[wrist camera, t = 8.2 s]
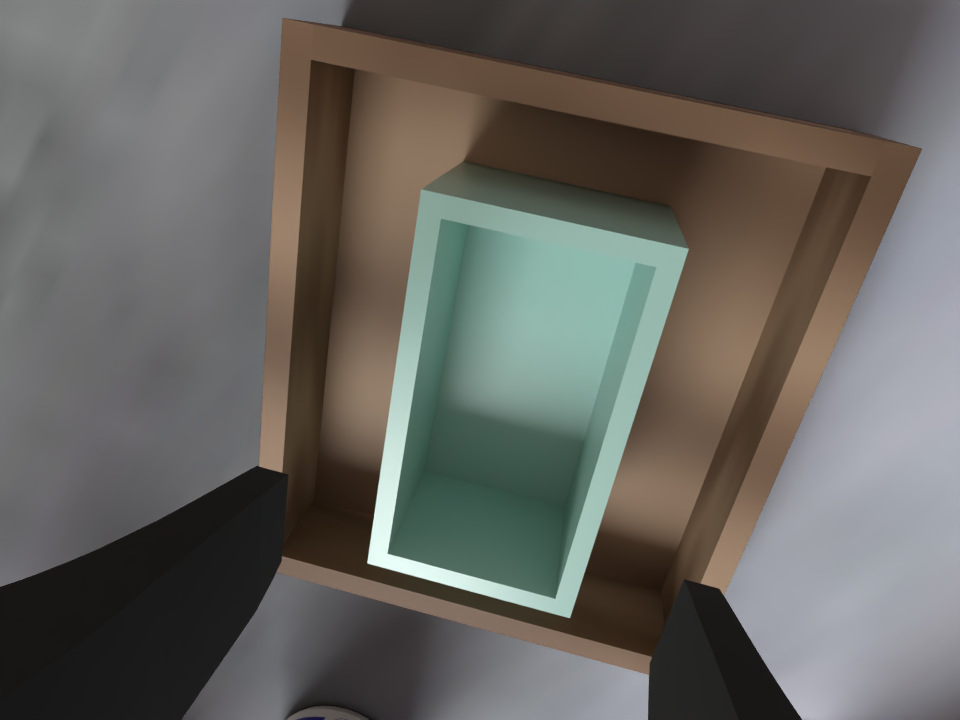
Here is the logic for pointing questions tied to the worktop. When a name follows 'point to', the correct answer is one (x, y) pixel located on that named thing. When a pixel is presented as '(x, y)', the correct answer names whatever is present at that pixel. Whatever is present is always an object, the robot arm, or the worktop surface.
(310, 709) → the energy drink
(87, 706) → the robot arm
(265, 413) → the big crate
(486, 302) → the small crate
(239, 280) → the worktop surface
